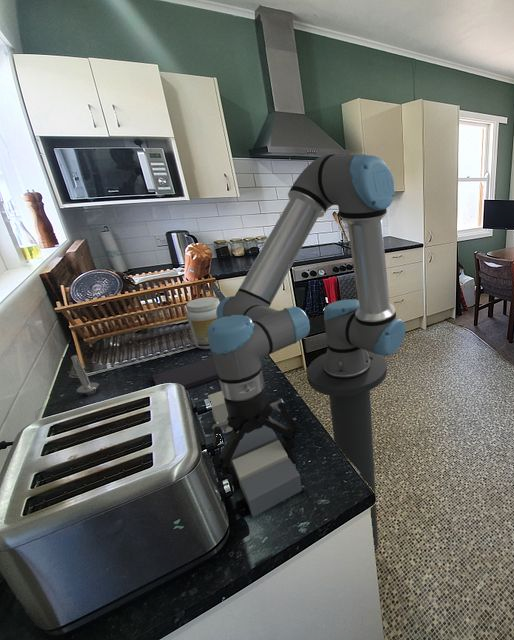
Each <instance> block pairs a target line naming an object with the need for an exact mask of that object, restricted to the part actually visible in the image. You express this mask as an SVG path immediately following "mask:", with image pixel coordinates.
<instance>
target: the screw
mask: <svg viewBox="0 0 514 640" xmlns="http://www.w3.org/2000/svg"><path fill="white" fill-rule="evenodd" d="M70 359H71V361H72V363H73V364H72V367H73V368H74V369H75V373H76V375H77V377H78V379H79V382H80V384H81V385H80V386H79V387H78V388H77V389H76V393H78V394H83V396H86V397H89V396H92V395H95V394H96V393H97V389H98V388H99V387H100V384H99V383H98V382H91V381H90V379H89V376H88V375H87V371H86V369H85V368H84V365H83V363H82V362H81V361H80V358H79V356H78V355H72V356H71V357H70Z"/></svg>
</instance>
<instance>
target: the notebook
mask: <svg viewBox="0 0 514 640" xmlns="http://www.w3.org/2000/svg"><path fill="white" fill-rule="evenodd" d="M152 379H153V382H154V384H155V386H156V385H158V384H163V383H169V382H171V383H179V384H182V385H183V386H184V387H185V388H186V389H185V390H187V389H190V388H193V387H196V386H200V385H203V384H205V383H208V382H210V381H214V380H218V379H219V377H218V372H217V369H216V365H215V362H214V359H213V357H210V358H209V357H208V358H206V359H203V360H199V361H195V362H193V363H189V364H186V365H183V366H182V365H181V366H179V367H175V368H172V369H169V370H165V371H162V372H159V373H155V374H153V375H152Z"/></svg>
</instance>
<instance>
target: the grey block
mask: <svg viewBox="0 0 514 640" xmlns="http://www.w3.org/2000/svg"><path fill="white" fill-rule="evenodd" d="M277 440H279V439H278V436H277V435H276V433H275V430H273V429H271V428H268V427H267V426H265V425H263V426H262V428H260V429H256V430H253V431H252V432H250V433H245V434H244V436H243V439H242V440H240V442H239V444H238V446H237V448H236V450H235V452H234V454H233V456H232V458H231V460H230V462H231V464H232V467H233V471H234V472H235V470H234V466H233V463H232V460H234V459H237V458H239V457H241V456H243V455H246V454H248V453H250V452H252V451H255V450H257V449H259V448H262V447H264V446H266V445H268V444H271V443H273V442H275V441H277ZM227 441H228V440H226V441H224V446H225V445H226V443H227Z"/></svg>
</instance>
